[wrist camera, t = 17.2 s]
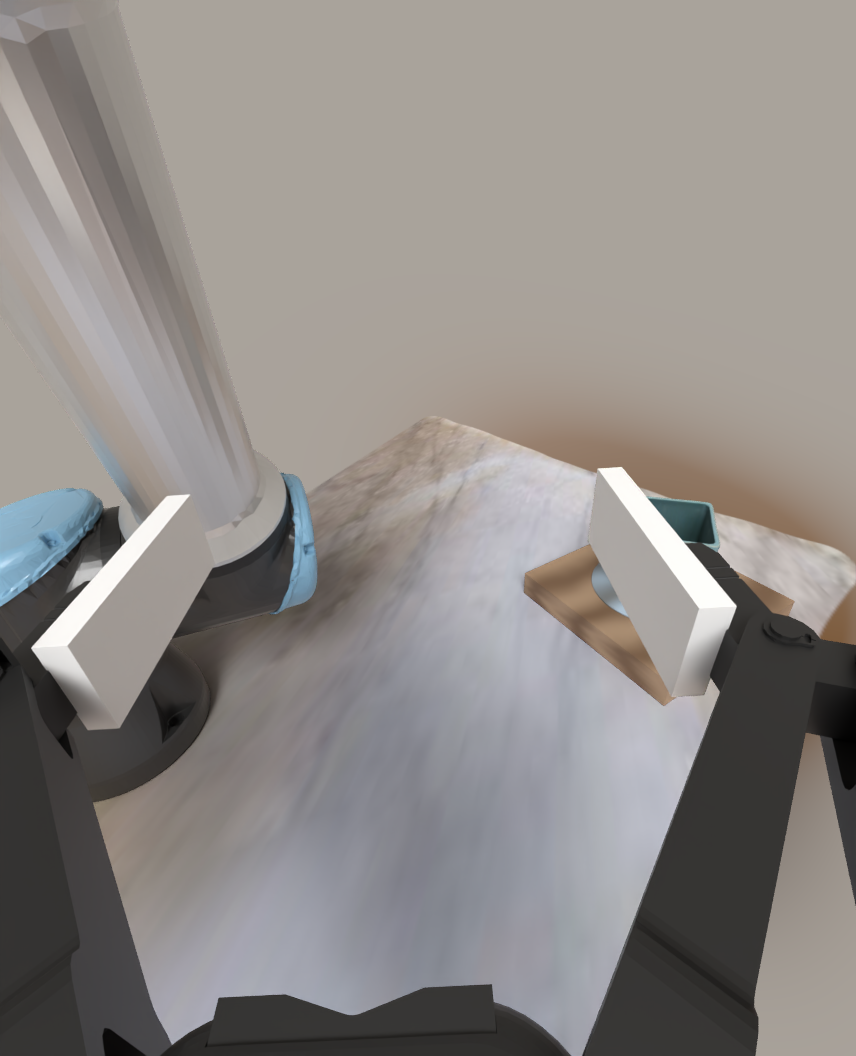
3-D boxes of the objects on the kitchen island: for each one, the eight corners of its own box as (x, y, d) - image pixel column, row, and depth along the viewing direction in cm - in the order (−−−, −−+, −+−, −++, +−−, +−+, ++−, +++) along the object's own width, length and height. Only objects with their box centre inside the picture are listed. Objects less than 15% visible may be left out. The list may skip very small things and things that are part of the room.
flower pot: (609, 602, 54) (621, 533, 49) (614, 557, 60) (625, 492, 56) (699, 618, 51) (721, 546, 46) (693, 569, 57) (712, 502, 53)
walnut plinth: (524, 592, 61) (525, 571, 59) (635, 540, 69) (639, 520, 67) (663, 705, 46) (670, 682, 44) (785, 622, 54) (795, 599, 52)
